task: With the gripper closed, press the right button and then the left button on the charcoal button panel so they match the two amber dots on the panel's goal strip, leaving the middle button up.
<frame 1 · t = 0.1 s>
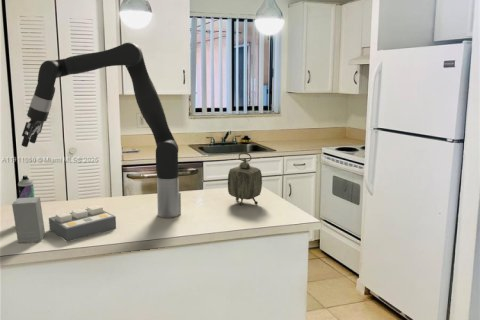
hand: (28, 144, 181), 31 cm above the counter, tool tilted 20°, fingers open, 8 cm apart
button 1: (64, 218, 170), point 6 cm above the counter, slide at 0.0 cm
middle button: (80, 214, 175), point 6 cm above the counter, slide at 0.0 cm
skincare box: (31, 240, 164), on the counter
button panel: (83, 229, 175), on the counter
spray can: (29, 223, 180), on the counter
button 2: (95, 210, 179), point 6 cm above the counter, slide at 0.0 cm
tabletop clock: (243, 204, 209), on the counter
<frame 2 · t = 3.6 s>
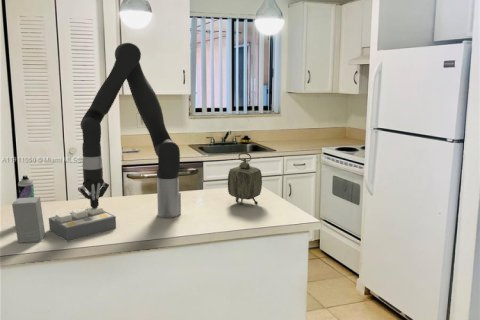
hand: (94, 207, 179), 7 cm above the counter, tool pointing down, fingers closed
button 2: (95, 211, 179), point 5 cm above the counter, slide at 0.2 cm, touching gripper
everything else where it was.
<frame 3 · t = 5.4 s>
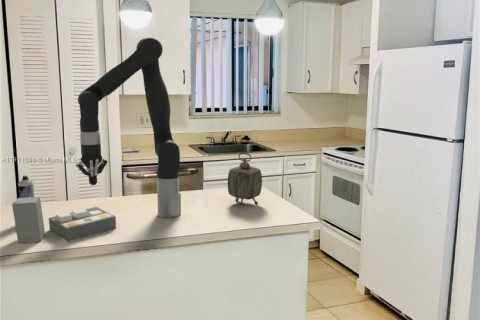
hand: (93, 184, 177), 17 cm above the counter, tool pointing down, fingers closed
button 2: (95, 215, 180), point 3 cm above the counter, slide at 2.1 cm, touching button panel
everything else where it was.
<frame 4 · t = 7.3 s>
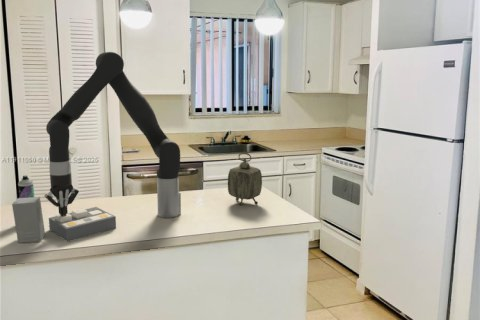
hand: (63, 215, 170), 7 cm above the counter, tool pointing down, fingers closed
button 1: (64, 219, 170), point 5 cm above the counter, slide at 0.3 cm, touching gripper
everything else where it was.
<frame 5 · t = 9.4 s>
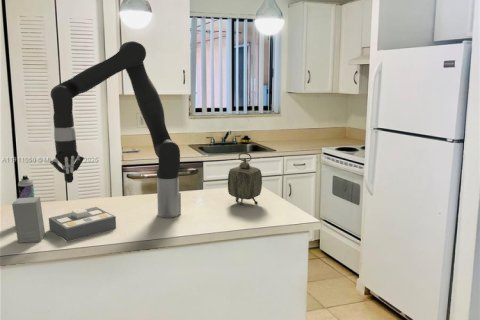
hand: (69, 182, 171), 19 cm above the counter, tool pointing down, fingers closed
button 1: (64, 223, 171), point 3 cm above the counter, slide at 2.1 cm, touching button panel
everything else where it was.
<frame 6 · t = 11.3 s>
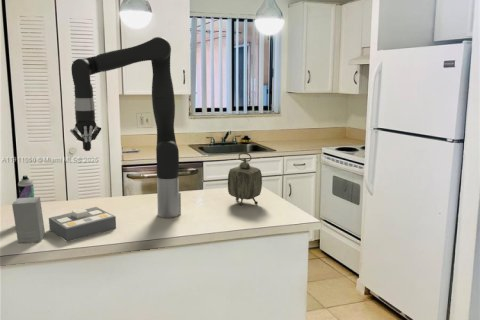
hand: (87, 150, 182), 29 cm above the counter, tool pointing down, fingers closed
nothing on the counter moved.
at the end: button 2 slide at 2.1 cm; button 1 slide at 2.1 cm; middle button slide at 0.0 cm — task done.
